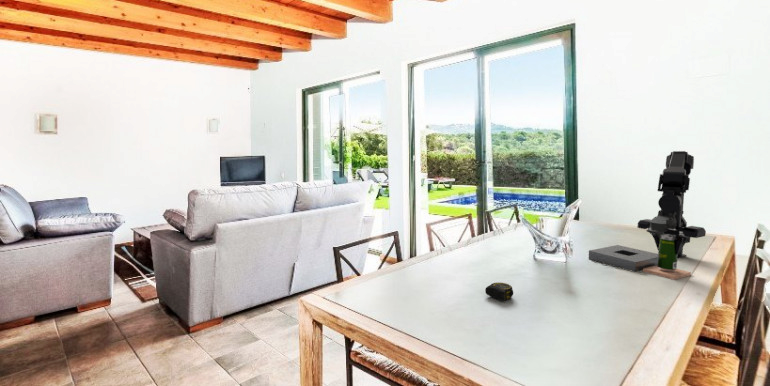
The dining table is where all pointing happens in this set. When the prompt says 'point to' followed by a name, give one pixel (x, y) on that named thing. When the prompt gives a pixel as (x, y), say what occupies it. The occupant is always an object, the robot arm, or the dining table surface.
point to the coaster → (667, 272)
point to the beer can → (667, 253)
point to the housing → (624, 257)
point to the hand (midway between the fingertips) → (668, 252)
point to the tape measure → (499, 291)
